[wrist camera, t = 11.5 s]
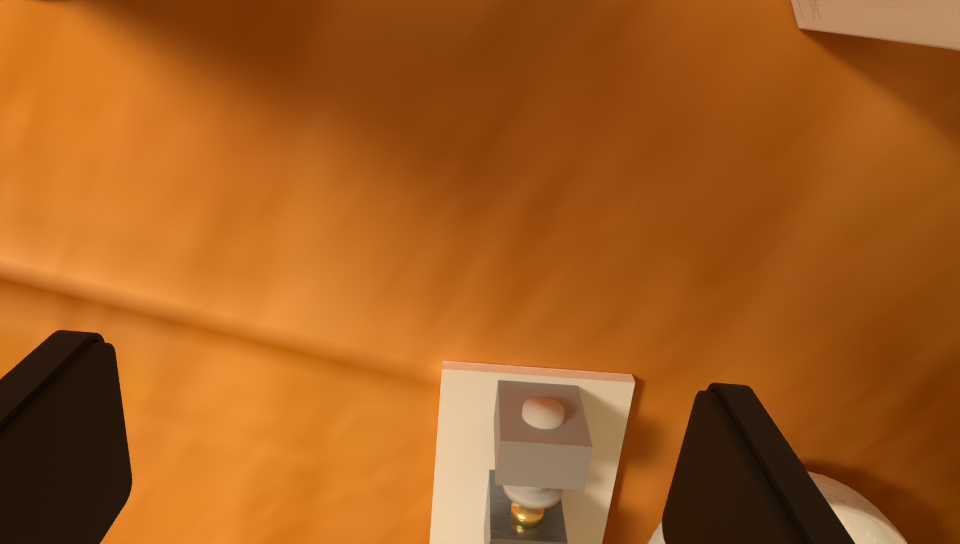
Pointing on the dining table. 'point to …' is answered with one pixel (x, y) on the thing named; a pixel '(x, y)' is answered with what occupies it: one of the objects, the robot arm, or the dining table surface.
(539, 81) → the dining table surface
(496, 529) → the joint block
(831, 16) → the skincare box
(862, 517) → the cereal bowl
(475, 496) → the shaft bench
